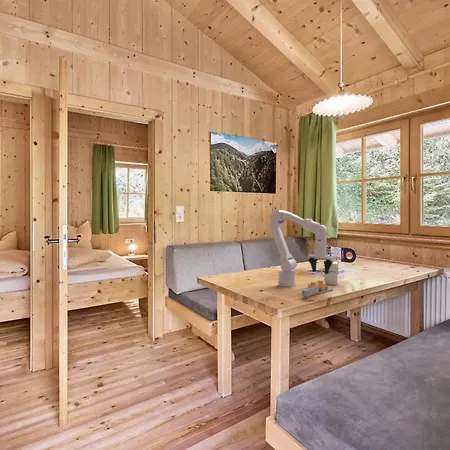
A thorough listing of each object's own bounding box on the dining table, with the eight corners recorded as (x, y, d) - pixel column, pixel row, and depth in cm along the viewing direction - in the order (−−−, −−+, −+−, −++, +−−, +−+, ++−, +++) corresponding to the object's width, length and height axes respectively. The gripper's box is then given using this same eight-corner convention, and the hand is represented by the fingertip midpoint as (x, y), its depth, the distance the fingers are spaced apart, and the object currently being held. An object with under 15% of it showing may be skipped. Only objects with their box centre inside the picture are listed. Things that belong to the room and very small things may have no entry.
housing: (318, 296, 158) (318, 292, 158) (297, 291, 168) (297, 287, 168) (333, 291, 167) (333, 287, 167) (312, 287, 177) (312, 283, 177)
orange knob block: (321, 290, 166) (321, 282, 165) (315, 289, 169) (315, 280, 169) (325, 289, 168) (325, 281, 168) (319, 288, 171) (319, 279, 171)
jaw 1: (314, 292, 162) (314, 284, 161) (307, 291, 165) (308, 282, 164) (318, 291, 164) (319, 282, 164) (312, 290, 167) (312, 281, 167)
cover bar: (307, 298, 151) (307, 291, 150) (301, 297, 153) (302, 290, 153) (321, 293, 159) (322, 287, 158) (316, 292, 161) (316, 285, 161)
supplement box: (323, 284, 184) (324, 262, 183) (324, 281, 191) (325, 260, 190) (337, 285, 181) (337, 263, 181) (337, 282, 188) (337, 261, 187)
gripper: (337, 248, 164) (336, 274, 165) (313, 245, 175) (313, 269, 176) (329, 249, 160) (329, 275, 160) (305, 246, 171) (305, 271, 171)
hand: (320, 272), depth 168 cm, fingers open, 7 cm apart
